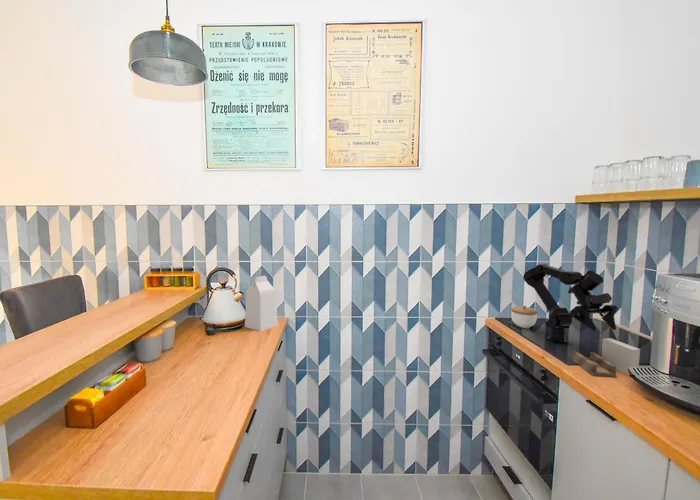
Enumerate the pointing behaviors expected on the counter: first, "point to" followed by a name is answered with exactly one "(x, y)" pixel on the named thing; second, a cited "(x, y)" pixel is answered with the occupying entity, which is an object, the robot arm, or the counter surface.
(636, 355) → the clay slab
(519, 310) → the lidded bowl
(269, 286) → the milk
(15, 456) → the counter surface
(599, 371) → the flanged channel block
